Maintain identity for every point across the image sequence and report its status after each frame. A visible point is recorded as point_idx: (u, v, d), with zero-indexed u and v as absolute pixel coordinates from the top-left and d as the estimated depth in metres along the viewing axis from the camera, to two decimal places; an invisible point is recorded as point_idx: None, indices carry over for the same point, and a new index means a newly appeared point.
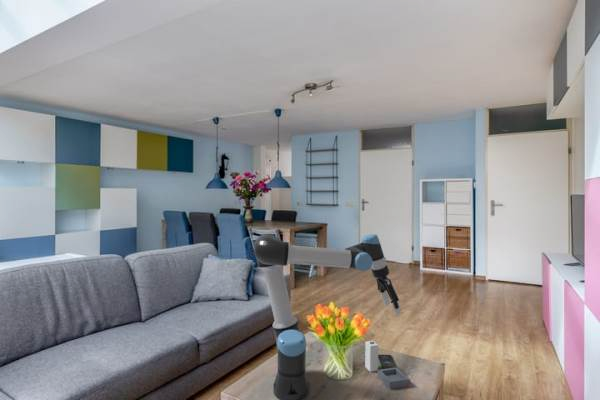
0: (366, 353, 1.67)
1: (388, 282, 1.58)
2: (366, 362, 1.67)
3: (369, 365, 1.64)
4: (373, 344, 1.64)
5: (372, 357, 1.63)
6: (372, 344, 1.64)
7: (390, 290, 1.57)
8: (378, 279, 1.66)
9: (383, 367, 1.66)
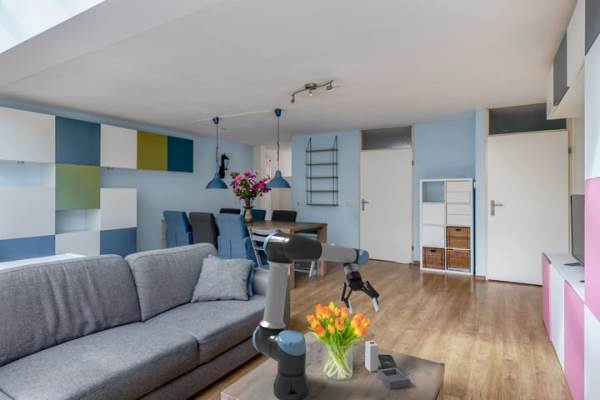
0: (366, 353, 1.67)
1: None
2: (366, 362, 1.67)
3: (369, 365, 1.64)
4: (373, 344, 1.64)
5: (372, 357, 1.63)
6: (372, 344, 1.64)
7: None
8: (354, 282, 1.81)
9: (383, 367, 1.66)
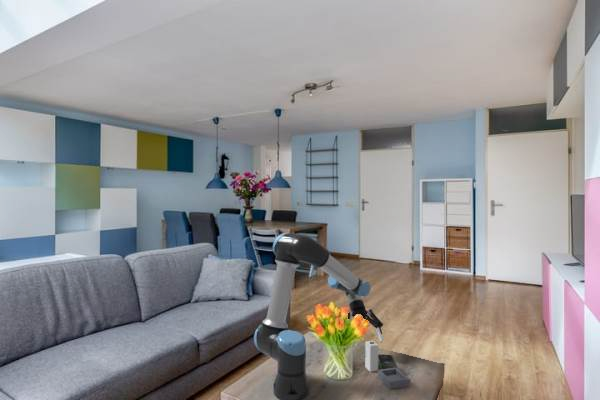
0: (366, 353, 1.67)
1: None
2: (366, 362, 1.67)
3: (369, 365, 1.64)
4: (373, 344, 1.64)
5: (372, 357, 1.63)
6: (372, 344, 1.64)
7: None
8: (358, 311, 1.79)
9: (383, 367, 1.66)
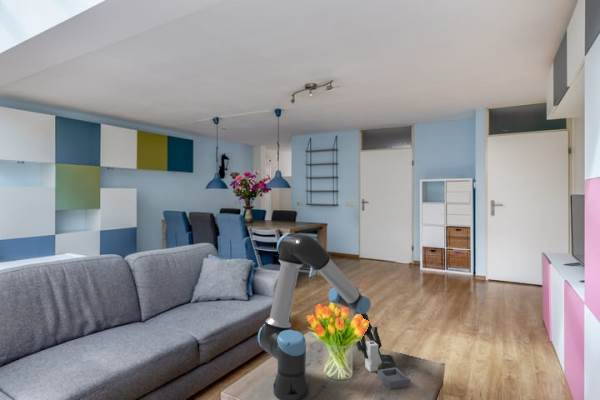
0: None
1: None
2: (366, 362, 1.67)
3: None
4: (373, 344, 1.64)
5: (372, 357, 1.63)
6: (372, 344, 1.64)
7: None
8: None
9: (383, 367, 1.66)
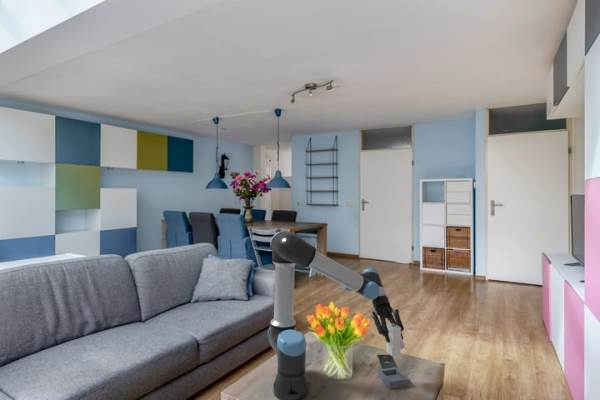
0: None
1: None
2: (387, 346, 1.56)
3: None
4: (395, 327, 1.53)
5: (395, 341, 1.52)
6: (394, 327, 1.53)
7: None
8: (382, 308, 1.61)
9: (383, 367, 1.66)
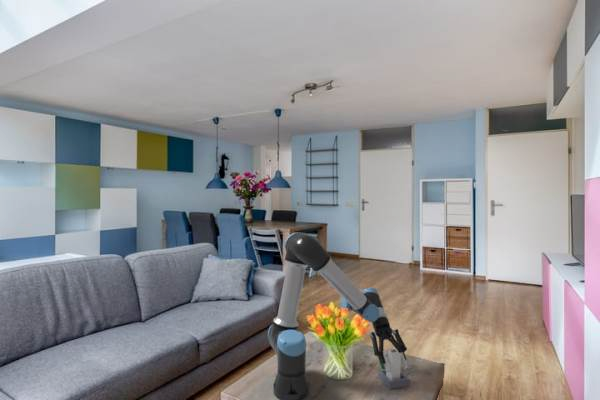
0: None
1: None
2: None
3: (391, 375, 1.53)
4: (395, 353, 1.54)
5: (394, 367, 1.52)
6: (394, 353, 1.54)
7: None
8: (382, 330, 1.61)
9: (383, 367, 1.66)
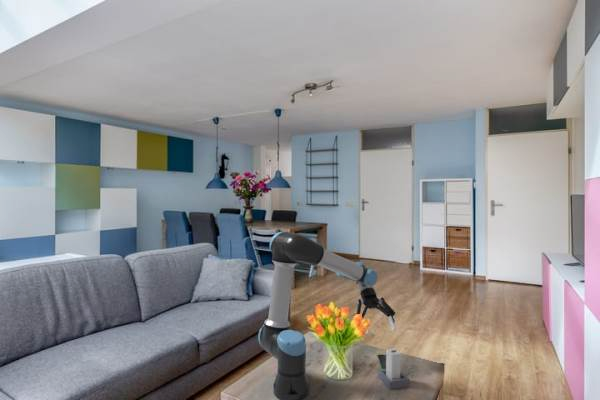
0: (387, 362, 1.56)
1: None
2: (387, 372, 1.56)
3: (391, 375, 1.53)
4: (395, 353, 1.54)
5: (394, 367, 1.52)
6: (394, 353, 1.54)
7: None
8: (369, 299, 1.74)
9: (383, 367, 1.66)
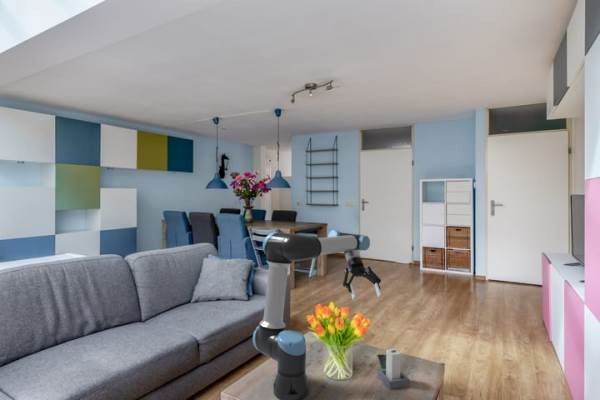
0: (387, 362, 1.56)
1: None
2: (387, 372, 1.56)
3: (391, 375, 1.53)
4: (395, 353, 1.54)
5: (394, 367, 1.52)
6: (394, 353, 1.54)
7: None
8: (356, 268, 1.81)
9: (383, 367, 1.66)
